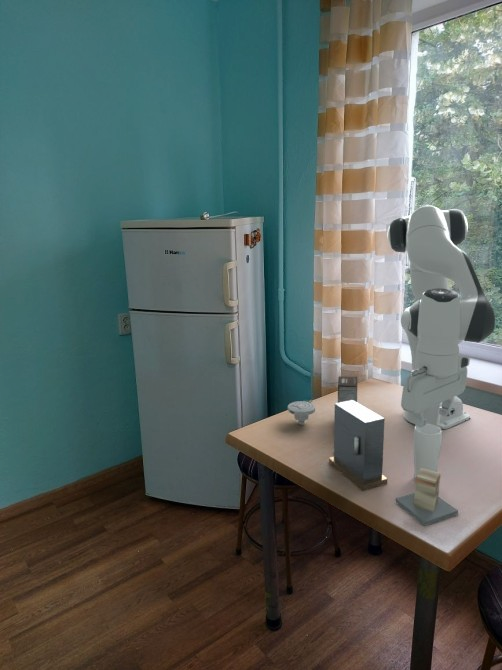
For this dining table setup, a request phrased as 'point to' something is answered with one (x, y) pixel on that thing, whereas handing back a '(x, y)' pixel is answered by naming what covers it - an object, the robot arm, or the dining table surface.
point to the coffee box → (347, 389)
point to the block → (426, 489)
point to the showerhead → (301, 410)
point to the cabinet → (358, 444)
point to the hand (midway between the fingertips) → (432, 420)
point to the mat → (423, 515)
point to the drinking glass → (426, 447)
